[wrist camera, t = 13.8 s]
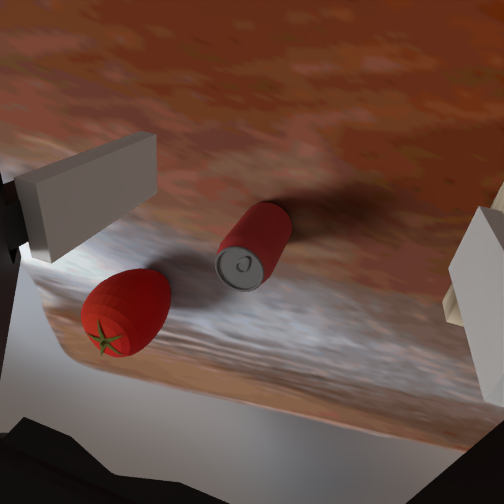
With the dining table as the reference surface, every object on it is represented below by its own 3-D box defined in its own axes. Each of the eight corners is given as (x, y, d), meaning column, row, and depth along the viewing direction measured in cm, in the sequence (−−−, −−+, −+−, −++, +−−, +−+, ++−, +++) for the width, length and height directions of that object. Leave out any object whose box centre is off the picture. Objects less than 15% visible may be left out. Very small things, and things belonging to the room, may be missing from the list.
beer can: (303, 220, 47) (280, 268, 37) (275, 254, 51) (248, 306, 41) (261, 190, 47) (227, 230, 37) (236, 226, 51) (200, 272, 41)
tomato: (159, 324, 65) (109, 386, 53) (110, 280, 64) (47, 334, 52) (199, 288, 58) (151, 351, 47) (144, 238, 57) (81, 290, 45)
